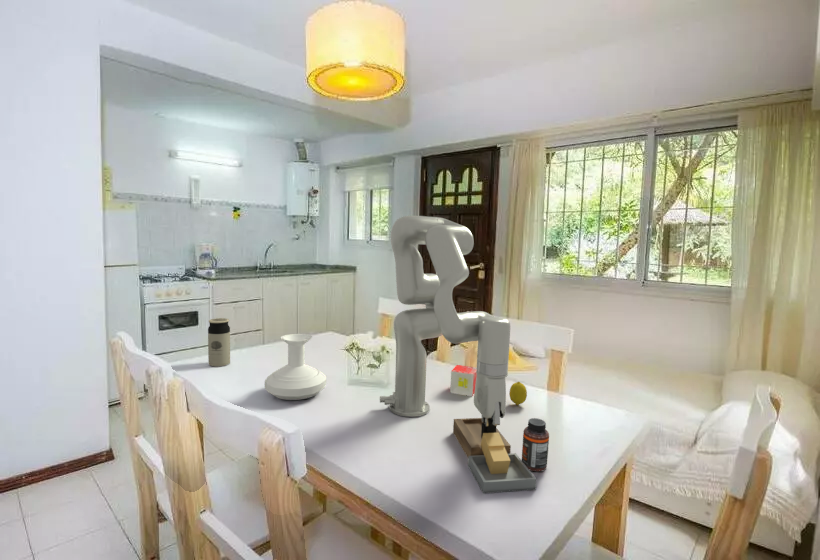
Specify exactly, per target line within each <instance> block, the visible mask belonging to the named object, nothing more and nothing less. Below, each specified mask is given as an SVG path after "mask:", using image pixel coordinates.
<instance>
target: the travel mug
mask: <svg viewBox="0 0 820 560" xmlns="http://www.w3.org/2000/svg"><path fill="white" fill-rule="evenodd" d="M229 322H230V319H229V318H226V317H225V318H224V317H220V318H218V317H216V318H210V319H209V320H208V323H209V326H208V328H207V345H208V346H207V347H208V349H207V350H208V351H207V353H208V359H207V361H208V365H209V366H211V367H217V368H219V367H225V366H228V365H229V364H231V326H229Z"/></svg>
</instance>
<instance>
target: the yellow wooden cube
mask: <svg viewBox="0 0 820 560" xmlns="http://www.w3.org/2000/svg"><path fill="white" fill-rule="evenodd" d="M510 461H511V460H510V458H509V456H508V454H507V451H506V449H505V447H492V448H488V451H487V456H486V463H487V465H488V468H489V471H490V473H491V474H500V473H507V472H508V468H509V464H510Z"/></svg>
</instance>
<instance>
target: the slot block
mask: <svg viewBox="0 0 820 560" xmlns="http://www.w3.org/2000/svg"><path fill="white" fill-rule="evenodd" d="M482 423H483V422H482V417H474V418H473V417H471V418H454V419H453V425H452V426H453V429H452V430H453V431H452V434H453V435H454V437H455V439H456V440H457V442H458V444H459V446H460V447H461V449H462V451H463V452H464V454H465V456H466V458H467V459H468V456H475V455H484V453H483V451H482V448H481V441H482V438H481V430H482ZM496 433H499V434H500V436H501V439H502V441H503V443H504V447H505V449H506V451H507V454H511V447H512V445H511V444H510V443H509V442H508V441H507V439H506V438H505V437H504V435H503V434H502V433H501V432H500V431H499V430H498V428H497V427H496Z"/></svg>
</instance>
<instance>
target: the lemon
mask: <svg viewBox="0 0 820 560" xmlns="http://www.w3.org/2000/svg"><path fill="white" fill-rule="evenodd" d="M509 388H510V389H509V398H510V400H511V402H512V403H514V404H515V405H516V406H519V405H521V404H522V405H523V403H524V402H526V400H527V396H528V391H527V387H526V385H524V384H523V383H522V382H520V381H515V382H514V383H512V384H511V386H510V387H509Z"/></svg>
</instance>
